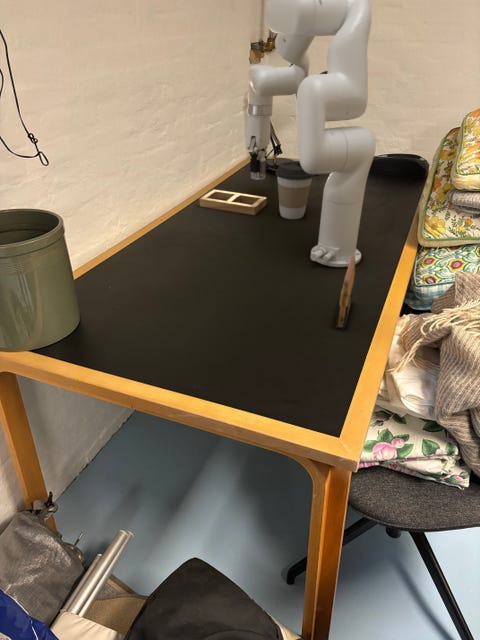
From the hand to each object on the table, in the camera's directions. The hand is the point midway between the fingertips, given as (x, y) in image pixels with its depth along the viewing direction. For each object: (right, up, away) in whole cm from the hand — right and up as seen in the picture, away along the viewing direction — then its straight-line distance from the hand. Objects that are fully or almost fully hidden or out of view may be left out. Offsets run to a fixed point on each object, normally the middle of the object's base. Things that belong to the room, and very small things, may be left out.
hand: (258, 169), depth 163 cm
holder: (-8, -13, -4) cm, 16 cm away
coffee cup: (+10, -17, -10) cm, 22 cm away
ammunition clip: (+16, -48, -59) cm, 78 cm away
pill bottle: (0, -3, +2) cm, 3 cm away
